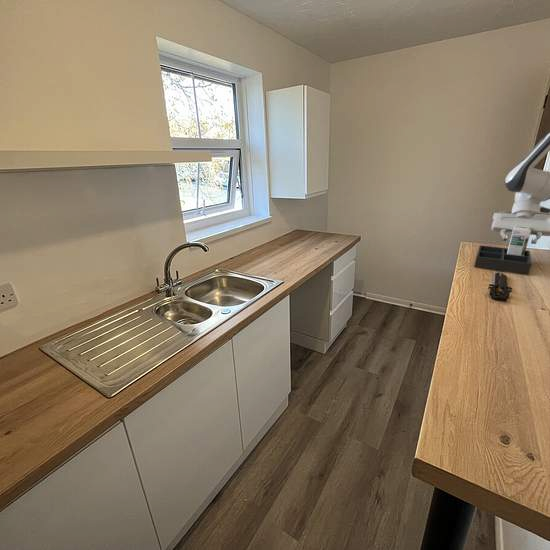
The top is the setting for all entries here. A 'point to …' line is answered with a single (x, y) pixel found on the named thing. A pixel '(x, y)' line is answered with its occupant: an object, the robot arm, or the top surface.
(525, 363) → the top surface
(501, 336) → the top surface
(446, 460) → the top surface
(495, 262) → the tray
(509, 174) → the robot arm
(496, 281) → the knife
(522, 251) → the syrup box
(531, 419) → the top surface
